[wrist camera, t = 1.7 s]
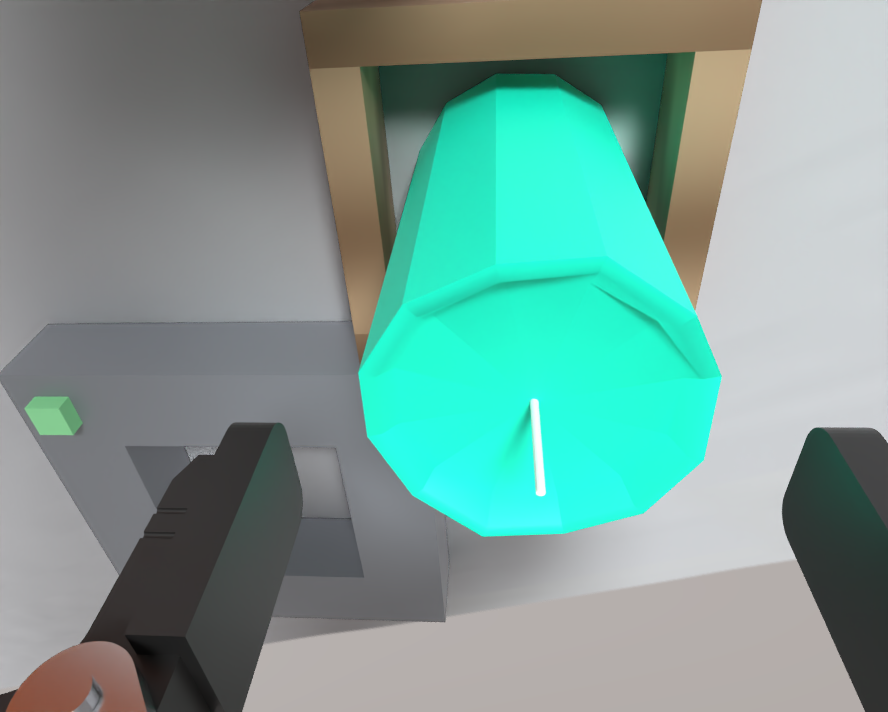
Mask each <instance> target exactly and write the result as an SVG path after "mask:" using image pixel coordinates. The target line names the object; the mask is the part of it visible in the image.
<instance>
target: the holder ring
mask: <svg viewBox="0 0 888 712" xmlns="http://www.w3.org/2000/svg"><path fill="white" fill-rule="evenodd" d="M761 4H762V0H315V1H314V2H312V3H311V4H309V5H308V6H307V7H305V8H304V9H302V10H301V11H299V12H300V18H301V24H302V30H303V36H304V42H305V47H306V53H307V59H308V65H309V71H310V77H311V82H312V88H313V94H314V100H315V106H316V112H317V118H318V123H319V129H320V135H321V141H322V147H323V153H324V158H325V164H326V170H327V176H328V182H329V188H330V194H331V199H332V205H333V211H334V217H335V223H336V229H337V234H338V240H339V246H340V252H341V258H342V264H343V269H344V275H345V281H346V287H347V293H348V299H349V305H350V310H351V316H352V322H353V328H354V334H355V340H356V345H357V351H358V357H359V363H360V364H361V361H362V357H363V354H364V350H365V346H366V343H367V339H368V336H369V332H370V328H371V325H372V321H373V318H374V314H375V310H376V307H377V303H378V300H379V296H380V292H381V289H382V285H383V282H384V278H385V274H386V271H387V267H388V264H389V260H390V256H391V253H392V249H393V246H394V242H395V238H396V235H397V233H396V224H395V215H394V205H393V196H392V187H391V178H390V169H389V160H388V151H387V142H386V133H385V123H384V114H383V105H382V96H381V87H380V78H379V69H378V66H388V65H410V64H433V63H455V62H478V61H500V60H523V59H545V58H568V57H590V56H613V55H635V54H658V53H668V55H667V62H666V69H665V76H664V83H663V90H662V97H661V104H660V110H659V117H658V124H657V131H656V138H655V145H654V152H653V159H652V166H651V173H650V180H649V187H648V194H647V201H646V205H647V207H648V209H649V211H650V213H651V216H652V218H653V220H654V222H655V224H656V227H657V229H658V231H659V233H660V235H661V238H662V240H663V242H664V244H665V246H666V249H667V251H668V253H669V255H670V257H671V260H672V262H673V264H674V266H675V268H676V271H677V273H678V275H679V277H680V280H681V282H682V284H683V286H684V288H685V291H686V293H687V295H688V297H689V299H690V302H691V304H692V306H693V308H694V310H695V308H696V304H697V299H698V295H699V290H700V285H701V281H702V276H703V271H704V267H705V262H706V258H707V253H708V248H709V244H710V239H711V234H712V230H713V225H714V221H715V216H716V211H717V207H718V202H719V198H720V193H721V188H722V184H723V179H724V174H725V170H726V165H727V161H728V156H729V151H730V147H731V142H732V137H733V133H734V128H735V124H736V119H737V114H738V110H739V105H740V101H741V96H742V91H743V87H744V82H745V77H746V73H747V68H748V64H749V59H750V54H751V50H752V45H753V40H754V36H755V31H756V27H757V22H758V17H759V13H760V8H761Z"/></svg>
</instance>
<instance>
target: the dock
mask: <svg viewBox="0 0 888 712" xmlns="http://www.w3.org/2000/svg"><path fill="white" fill-rule="evenodd" d="M359 368H360V363H359V357H358V351H357V345H356V340H355V334H354V328H353V322H352V321H325V322H221V323H116V324H48V325H47V326H46V327H45V328H44V329H43V330H42V331H41V332H40V333H39V334H38V335H37V336H36V337H35V338H34V339H33V340H32V341H31V342H30V343H29V344H28V345H27V346H26V347H25V348H24V349H23V350H22V351H21V352H20V353H19V354H18V355H17V356H16V357H15V358H14V359H13V360H12V361H11V362H10V363H9V364H8V365H7V366H6V367H5V368H4V369H3V370H2V371H1V372H0V382H1V384H2V385H3V387H4V388H5V390H6V392H7V393H8V395H9V397H10V398H11V400H12V401H13V403H14V405H15V406H16V408H17V410H18V411H19V413H20V415H21V416H22V418H23V419H24V421H25V423H26V424H27V426H28V428H29V429H30V431H31V432H32V434H33V436H34V437H35V439H36V441H37V442H38V444H39V445H40V447H41V449H42V450H43V452H44V454H45V455H46V457H47V458H48V460H49V462H50V463H51V465H52V467H53V468H54V470H55V471H56V473H57V475H58V476H59V478H60V480H61V481H62V483H63V485H64V486H65V488H66V489H67V491H68V493H69V494H70V496H71V498H72V499H73V501H74V502H75V504H76V506H77V507H78V509H79V511H80V512H81V514H82V515H83V517H84V519H85V520H86V522H87V524H88V525H89V527H90V528H91V530H92V532H93V533H94V535H95V537H96V538H97V540H98V541H99V543H100V545H101V546H102V548H103V550H104V551H105V553H106V555H107V556H108V558H109V559H110V561H111V563H112V564H113V566H114V568H115V569H116V571H117V572H118V574H119V575H120V574H121V572H122V570H123V568H124V566H125V564H126V563H127V561H128V559H129V557H130V555H131V554H132V552H133V550H134V548H135V546H136V545H137V543H138V541H139V539H140V538H143V536H144V530H145V528H146V526H147V525H148V523H149V521H150V519H151V517H152V516H153V514H156V513H157V507H158V505H159V503H160V501H161V499H162V497H163V496H164V494H165V492H166V490H167V488H168V487H169V485H170V483H171V481H172V479H173V478H174V477H176V476H177V475H178V474H179V473H180V472H181V471H182V470H183V469H184V468H185V467H186V466H187V465H188V464H190V463H191V462H190V460H189V458H188V455H187V453H186V451H185V448H184V446H191V447H219V445H220V443H221V441H222V439H223V437H224V435H225V433H226V431H227V429H228V427H229V426H230V425H231V424H232V423H235V422H267V423H282V424H283V425H284V427H285V429H286V432H287V436H288V439H289V443H290V447H319V448H336V452H337V456H338V461H339V465H340V470H341V474H342V479H343V483H344V488H345V492H346V497H347V501H348V506H349V510H350V515H351V519H324V518H301V522H300V526H299V530H298V533H297V536H296V539H295V543H294V546H293V549H292V552H291V555H290V559H289V562H288V565H287V568H286V572H285V575H284V578H283V581H282V584H281V588H280V591H279V594H278V597H277V601H276V604H275V607H274V610H273V613H272V617H295V618H327V619H359V620H391V621H423V622H445V620H446V606H447V591H448V577H449V553H448V541H447V529H446V517H445V514H443V513H441V512H440V511H438V510H436V509H435V508H433V507H431V506H429V505H428V504H426V503H424V502H423V501H421V500H419V499H418V498H416V497H414V496H412V494H411V493H410V492H409V490H408V489H407V488H406V486H405V485H404V484H403V482H402V481H401V480H400V479H399V477H398V476H397V475H396V473H395V472H394V471H393V469H392V468H391V467H390V465H389V464H388V463H387V462H386V460H385V459H384V458H383V456H382V455H381V454H380V452H379V451H378V450H377V448H376V447H375V446H374V445H373V443H372V442H371V441H370V439H369V438H368V437H367V431H366V424H365V417H364V410H363V403H362V396H361V389H360V382H359V375H358V372H359Z"/></svg>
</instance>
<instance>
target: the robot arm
mask: <svg viewBox="0 0 888 712" xmlns="http://www.w3.org/2000/svg"><path fill="white" fill-rule="evenodd" d="M302 506H303V498H302V489H301V484H300V480H299V477H298V473H297V469H296V465H295V462H294V458H293V454H292V451H291V447H290V443H289V439H288V436H287V432H286V429H285V427H284V425H283V424H282V423H267V422H235V423H232V424H231V425H230V426H229V427H228V429H227V431H226V433H225V435H224V437H223V439H222V441H221V443H220V445H219V447H218V449H217V451H216V453H215V455H198V456H197V457H196V458H195V459H194V460H193V461H192V462H191V463H190V464H188V465H187V466H186V467H185V468H184V469H183V470H182V471H181V472H180V473H179V474H178V475H177V476H176V477H174V478H173V479H172V481H171V483H170V485H169V487H168V488H167V490H166V492H165V494H164V496H163V497H162V499H161V501H160V503H159V505H158V507H157V513H156V514H153V516H152V517H151V519H150V521H149V523H148V525H147V526H146V528H145V530H144V536H143V538H140V539H139V541H138V543H137V545H136V546H135V548H134V550H133V552H132V554H131V555H130V557H129V559H128V561H127V563H126V564H125V566H124V568H123V570H122V572H121V574H120V575H119V577H118V579H117V581H116V583H115V584H114V586H113V588H112V590H111V592H110V593H109V595H108V597H107V599H106V601H105V603H104V604H103V606H102V608H101V610H100V612H99V613H98V615H97V617H96V619H95V621H94V622H93V624H92V626H91V628H90V630H89V631H88V633H87V634H86V636H85V637H84V639H83V640H82V642H81V643H80V644H79V645H75V646H73V647H70V648H68V649H66V650H63V651H61V652H60V653H58V654H56V655H55V656H53V657H51V658H50V659H48V660H47V661H46V662H44V663H43V664H42V665H40V666H39V667H38V668H37V669H36V670H35V671H34V672H32V673H31V674H30V675H29V677H28V678H27V679H26V680H25V681H24V682H23V683H22V684H21V686H20V687H19V689H17V690H14V691H11V692H8V693H5V694H1V695H0V712H242V710H243V707H244V703H245V700H246V697H247V694H248V690H249V687H250V684H251V681H252V678H253V675H254V671H255V668H256V665H257V661H258V658H259V655H260V652H261V649H262V646H263V642H264V639H265V636H266V633H267V629H268V626H269V623H270V620H271V617H272V613H273V610H274V607H275V604H276V601H277V597H278V594H279V591H280V588H281V584H282V581H283V578H284V575H285V572H286V568H287V565H288V562H289V559H290V555H291V552H292V549H293V546H294V543H295V539H296V536H297V533H298V530H299V526H300V522H301V516H302ZM782 518H783V525H784V530H785V533H786V536H787V539H788V541H789V543H790V546H791V548H792V550H793V552H794V554H795V557H796V559H797V561H798V563H799V565H800V568H801V570H802V572H803V574H804V577H805V579H806V581H807V583H808V586H809V588H810V590H811V592H812V594H813V597H814V599H815V601H816V603H817V606H818V608H819V610H820V612H821V614H822V617H823V619H824V621H825V623H826V626H827V628H828V630H829V632H830V634H831V637H832V639H833V641H834V643H835V645H836V648H837V650H838V652H839V654H840V657H841V659H842V661H843V663H844V665H845V668H846V670H847V672H848V674H849V676H850V679H851V681H852V683H853V685H854V688H855V690H856V692H857V694H858V697H859V699H860V701H861V703H862V705H863V708H864V710H865V712H888V443H887V442H886V440H885V439H884V437H883V436H882V435H881V434H880V433H879V432H878V431H877V430H875V429H872V428H814V429H812V430H811V431H810V433H809V434H808V436H807V438H806V440H805V443H804V446H803V448H802V451H801V453H800V456H799V459H798V461H797V464H796V466H795V469H794V472H793V474H792V477H791V479H790V482H789V484H788V487H787V490H786V492H785V495H784V498H783V505H782Z"/></svg>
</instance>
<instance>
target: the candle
mask: <svg viewBox="0 0 888 712" xmlns="http://www.w3.org/2000/svg"><path fill="white" fill-rule="evenodd" d="M358 375H359V382H360V389H361V396H362V403H363V410H364V417H365V424H366V431H367V437H368V438H369V439H370V441H371V442H372V443H373V445H374V446H375V447H376V448H377V450H378V451H379V452H380V454H381V455H382V456H383V458H384V459H385V460H386V462H387V463H388V464H389V465H390V467H391V468H392V469H393V471H394V472H395V473H396V475H397V476H398V477H399V479H400V480H401V481H402V482H403V484H404V485H405V486H406V488H407V489H408V490H409V492H410V493H411V494H412V496H414V497H416V498H418V499H419V500H421V501H423V502H424V503H426V504H428V505H429V506H431V507H433V508H435V509H436V510H438V511H440V512H441V513H443V514H445V515H447V516H448V517H450V518H452V519H453V520H455V521H457V522H459V523H460V524H462V525H464V526H465V527H467V528H469V529H471V530H472V531H474V532H476V533H477V534H479V535H481V536H483V537H486V536H513V535H540V534H565V533H568V532H572V531H576V530H580V529H584V528H588V527H592V526H596V525H600V524H604V523H607V522H611V521H615V520H619V519H623V518H627V517H631V516H635V515H639V514H643V513H644V512H646V511H647V510H648V509H649V508H650V507H651V506H652V505H654V504H655V503H656V502H657V501H658V500H659V499H660V498H661V497H663V496H664V495H665V494H666V493H667V492H668V491H669V490H671V489H672V488H673V487H674V486H675V485H676V484H677V483H678V482H680V481H681V480H682V479H683V478H684V477H685V476H686V475H688V474H689V473H690V472H691V471H692V470H693V469H694V468H696V467H697V466H698V465H699V464H700V463H701V462H702V461H703V460H704V457H705V452H706V447H707V443H708V438H709V433H710V429H711V424H712V419H713V415H714V410H715V405H716V401H717V396H718V391H719V387H720V382H721V377H722V376H721V373H720V371H719V369H718V366H717V364H716V361H715V359H714V356H713V354H712V351H711V349H710V346H709V344H708V342H707V339H706V337H705V334H704V332H703V329H702V327H701V324H700V322H699V320H698V317H697V315H696V313H695V310H694V308H693V306H692V304H691V302H690V299H689V297H688V295H687V293H686V291H685V288H684V286H683V284H682V282H681V280H680V277H679V275H678V273H677V271H676V268H675V266H674V264H673V262H672V260H671V257H670V255H669V253H668V251H667V249H666V246H665V244H664V242H663V240H662V238H661V235H660V233H659V231H658V229H657V227H656V224H655V222H654V220H653V218H652V216H651V213H650V211H649V209H648V207H647V205H646V202H645V200H644V198H643V196H642V194H641V191H640V189H639V187H638V185H637V183H636V180H635V178H634V176H633V174H632V172H631V169H630V167H629V165H628V163H627V161H626V158H625V156H624V154H623V152H622V149H621V147H620V145H619V143H618V141H617V138H616V136H615V134H614V132H613V130H612V127H611V125H610V123H609V121H608V119H607V116H606V114H605V112H604V110H603V108H602V105H601V104H599V103H598V102H596V101H595V100H593V99H592V98H590V97H589V96H587V95H585V94H584V93H582V92H581V91H579V90H578V89H576V88H575V87H573V86H572V85H570V84H569V83H567V82H566V81H564V80H563V79H561V78H560V77H558V76H557V75H555V74H495V75H493V76H491V77H490V78H488V79H486V80H484V81H483V82H481V83H479V84H478V85H476V86H474V87H473V88H471V89H469V90H467V91H466V92H464V93H462V94H461V95H459V96H457V97H456V98H454V99H452V100H450V101H449V102H447V103H446V104H445V106H444V108H443V110H442V112H441V113H440V115H439V117H438V119H437V121H436V122H435V124H434V126H433V128H432V130H431V131H430V133H429V135H428V137H427V139H426V141H425V142H424V144H423V146H422V148H421V150H420V152H419V156H418V159H417V163H416V166H415V170H414V174H413V177H412V181H411V184H410V188H409V192H408V195H407V199H406V202H405V206H404V210H403V213H402V217H401V220H400V224H399V228H398V231H397V235H396V238H395V242H394V246H393V249H392V253H391V256H390V260H389V264H388V267H387V271H386V274H385V278H384V282H383V285H382V289H381V292H380V296H379V300H378V303H377V307H376V310H375V314H374V318H373V321H372V325H371V328H370V332H369V336H368V339H367V343H366V346H365V350H364V354H363V357H362V361H361V364H360V368H359V372H358Z"/></svg>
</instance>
